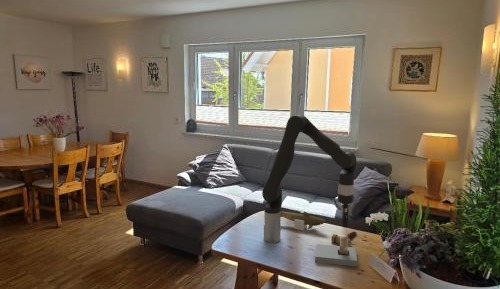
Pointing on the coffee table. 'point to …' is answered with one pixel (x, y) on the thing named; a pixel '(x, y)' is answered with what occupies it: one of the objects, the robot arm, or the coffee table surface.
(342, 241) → the peg
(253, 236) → the coffee table surface
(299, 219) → the wood carving
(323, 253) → the board
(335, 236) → the gavel
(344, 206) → the robot arm
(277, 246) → the coffee table surface
